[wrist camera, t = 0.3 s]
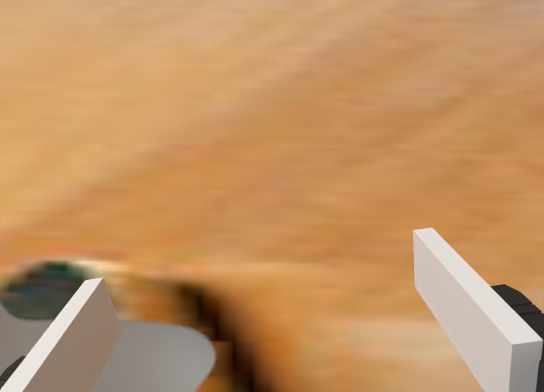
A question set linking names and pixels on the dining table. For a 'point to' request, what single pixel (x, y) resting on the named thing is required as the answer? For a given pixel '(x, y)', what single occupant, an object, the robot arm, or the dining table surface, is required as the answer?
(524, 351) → the robot arm
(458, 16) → the dining table surface
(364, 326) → the dining table surface
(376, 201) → the dining table surface
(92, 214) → the dining table surface
